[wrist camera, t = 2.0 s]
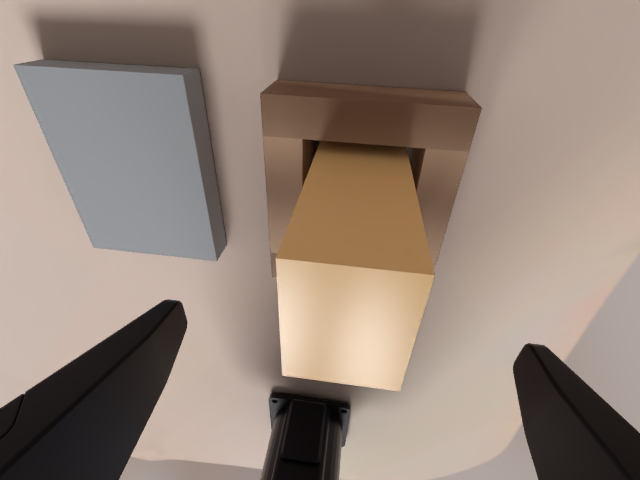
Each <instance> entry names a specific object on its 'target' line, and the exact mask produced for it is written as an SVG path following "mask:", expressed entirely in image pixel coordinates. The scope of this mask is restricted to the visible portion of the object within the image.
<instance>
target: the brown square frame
mask: <svg viewBox="0 0 640 480" xmlns="http://www.w3.org/2000/svg"><path fill="white" fill-rule="evenodd" d="M260 98H261V114H262V129H263V144H264V160H265V175H266V190H267V206H268V221H269V236H270V251H271V267H272V277H277V273H276V256H277V254H278V251H279V248H280V246H281V243H282V240H283V238H284V235H285V232H286V230H287V227H288V225H289V222H290V219H291V217H292V214H293V211H294V209H295V206H296V203H297V201H298V198H299V196H300V193H301V190H302V188H303V185H304V182H305V180H306V177H307V174H308V172H309V169H310V166H311V164H312V140H320V141H333V142H346V143H359V144H372V145H386V146H399V147H412V148H414V153H413V158H412V163H411V170H412V175H413V179H414V184H415V188H416V193H417V197H418V202H419V206H420V211H421V215H422V220H423V224H424V229H425V233H426V238H427V242H428V247H429V251H430V256H431V260H432V265H433V269H434V268H435V265H436V261H437V258H438V255H439V251H440V248H441V244H442V241H443V238H444V234H445V231H446V228H447V224H448V221H449V217H450V214H451V211H452V207H453V204H454V200H455V197H456V194H457V190H458V187H459V184H460V180H461V177H462V173H463V170H464V167H465V163H466V160H467V156H468V153H469V150H470V146H471V143H472V140H473V136H474V133H475V129H476V126H477V123H478V119H479V116H480V112H481V109H482V108H481V107H480V106H479V105H478V104H477V103H476V102H475V101H474V100H473V99H472V98H471V97H470V96H469V95H468V94H467V93H466V92H465V91H449V90H432V89H416V88H399V87H383V86H367V85H350V84H334V83H318V82H301V81H285V80H276V81H275V82H274V83H272V84H271V85H270V86H269V87H268V88H266V89H265V90H264V91H263V92H262V93H260Z"/></svg>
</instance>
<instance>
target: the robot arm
mask: <svg viewBox="0 0 640 480" xmlns="http://www.w3.org/2000/svg"><path fill="white" fill-rule="evenodd" d="M186 329H187V319H186V315H185V312H184V308H183V305H182V303H181V302H180V301H176V300H164V301H162V302H161V303H159V304H158V305H156V306H155V307H153V308H152V309H150V310H149V311H147V312H146V313H144V314H143V315H141V316H140V317H138V318H137V319H135V320H134V321H132V322H131V323H129V324H127V325H126V326H124V327H123V328H121V329H120V330H118V331H117V332H115V333H114V334H112V335H111V336H109V337H108V338H106V339H105V340H103V341H102V342H100V343H99V344H97V345H96V346H94V347H93V348H91V349H90V350H88V351H87V352H85V353H84V354H82V355H81V356H79V357H78V358H76V359H75V360H73V361H71V362H70V363H68V364H67V365H65V366H64V367H62V368H61V369H59V370H58V371H56V372H55V373H53V374H52V375H50V376H49V377H47V378H46V379H44V380H43V381H41V382H40V383H38V384H37V385H35V386H34V387H32V388H31V389H29V390H28V391H26V393H25V394H21V395H20V396H18V397H17V398H15V399H14V400H12V401H11V402H9V403H8V404H6V405H5V406H3V407H2V408H0V480H119V478H120V476H121V474H122V472H123V470H124V468H125V466H126V464H127V462H128V460H129V458H130V456H131V454H132V452H133V450H134V448H135V446H136V444H137V442H138V440H139V438H140V436H141V434H142V432H143V430H144V428H145V426H146V424H147V421H148V419H149V417H150V415H151V413H152V411H153V409H154V407H155V405H156V403H157V401H158V399H159V397H160V395H161V393H162V391H163V389H164V387H165V385H166V383H167V380H168V378H169V375H170V373H171V370H172V367H173V364H174V362H175V359H176V356H177V354H178V351H179V348H180V346H181V343H182V340H183V337H184V335H185V332H186ZM513 373H514V379H515V384H516V389H517V395H518V400H519V406H520V411H521V416H522V422H523V427H524V431H525V435H526V439H527V443H528V446H529V449H530V453H531V456H532V459H533V463H534V466H535V469H536V473H537V476H538V480H640V433H639V432H638V431H637V430H636V429H635V428H634V427H633V426H631V425H630V424H629V423H628V422H627V421H626V420H625V419H624V418H623V417H622V416H621V415H619V413H617V412H616V411H615V410H614V409H613V408H612V407H611V406H610V405H609V404H608V403H606V402H605V400H603V399H602V398H601V397H600V396H599V395H598V394H597V393H596V392H595V391H594V390H593V389H592V388H590V387H589V386H588V385H587V384H586V383H585V382H584V381H583V380H582V379H581V378H580V377H579V376H578V375H577V374H575V373H574V372H573V371H572V370H571V369H570V368H569V367H568V366H567V365H566V364H565V363H564V362H562V361H561V360H560V359H559V358H558V357H557V356H556V355H555V354H554V353H553V352H552V351H551V350H550V349H548V348H547V347H546V346H544V345H539V344H530V343H528V344H526V345H524V347H523V348H522V350H521V352H520V353H519V355H518V357H517V359H516V360H515V362H514V365H513ZM269 408H270V418H271V428H272V432H271V437H270V441H269V445H268V449H267V454H266V458H265V462H264V466H263V471H262V475H261V479H260V480H339V471H340V457H341V447H343V446H345V441H346V435H347V429H348V423H349V416H350V405H349V404H347V403H341V402H334V401H327V400H320V399H313V398H306V397H299V396H292V395H285V394H278V393H272V394H270V398H269Z"/></svg>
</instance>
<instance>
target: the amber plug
mask: <svg viewBox="0 0 640 480" xmlns="http://www.w3.org/2000/svg"><path fill="white" fill-rule="evenodd" d="M276 273H277V291H278V309H279V327H280V345H281V363H282V376H289V377H297V378H304V379H311V380H319V381H326V382H333V383H341V384H348V385H355V386H363V387H370V388H377V389H385V390H392V391H399V392H400V389H401V386H402V383H403V379H404V376H405V373H406V369H407V366H408V363H409V359H410V356H411V353H412V349H413V346H414V343H415V339H416V336H417V333H418V330H419V326H420V323H421V320H422V316H423V313H424V310H425V306H426V303H427V300H428V296H429V293H430V290H431V286H432V283H433V280H434V276H435V274H434V269H433V265H432V260H431V256H430V251H429V247H428V242H427V238H426V233H425V229H424V224H423V220H422V215H421V211H420V206H419V202H418V197H417V193H416V188H415V184H414V179H413V175H412V170H411V166H410V161H409V157H408V152H407V148H406V147H399V146H386V145H372V144H359V143H346V142H333V141H320V143H319V145H318V148H317V151H316V153H315V156H314V159H313V161H312V164H311V166H310V169H309V172H308V174H307V177H306V180H305V182H304V185H303V188H302V190H301V193H300V196H299V198H298V201H297V203H296V206H295V209H294V211H293V214H292V217H291V219H290V222H289V225H288V227H287V230H286V232H285V235H284V238H283V240H282V243H281V246H280V248H279V251H278V254H277V256H276Z"/></svg>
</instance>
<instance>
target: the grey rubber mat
mask: <svg viewBox="0 0 640 480" xmlns="http://www.w3.org/2000/svg"><path fill="white" fill-rule="evenodd" d="M13 66H14V68H15V70H16V72H17V75H18V77H19V79H20V81H21V84H22V86H23V88H24V91H25V93H26V95H27V97H28V100H29V102H30V104H31V107H32V109H33V111H34V113H35V116H36V118H37V120H38V122H39V125H40V127H41V129H42V132H43V134H44V136H45V138H46V141H47V143H48V145H49V147H50V150H51V152H52V154H53V157H54V159H55V161H56V163H57V166H58V168H59V170H60V172H61V175H62V177H63V179H64V182H65V184H66V186H67V188H68V191H69V193H70V195H71V197H72V200H73V202H74V204H75V207H76V209H77V211H78V213H79V216H80V218H81V220H82V222H83V225H84V227H85V229H86V232H87V234H88V236H89V238H90V241H91V243H92V245H93V247H94V248H102V249H111V250H120V251H129V252H138V253H147V254H156V255H166V256H175V257H184V258H193V259H202V260H211V261H217V260H218V258H219V257H220V255H221V253H222V252H223V250H224V249H225V247H226V245H227V243H226V236H225V230H224V223H223V217H222V211H221V204H220V198H219V191H218V185H217V179H216V172H215V166H214V159H213V153H212V147H211V140H210V134H209V128H208V121H207V115H206V108H205V102H204V96H203V89H202V83H201V76H200V70H199V69H196V68H179V67H162V66H145V65H128V64H111V63H95V62H78V61H61V60H44V59H43V60H37V61H32V62H26V63H21V64H15V65H13Z"/></svg>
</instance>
